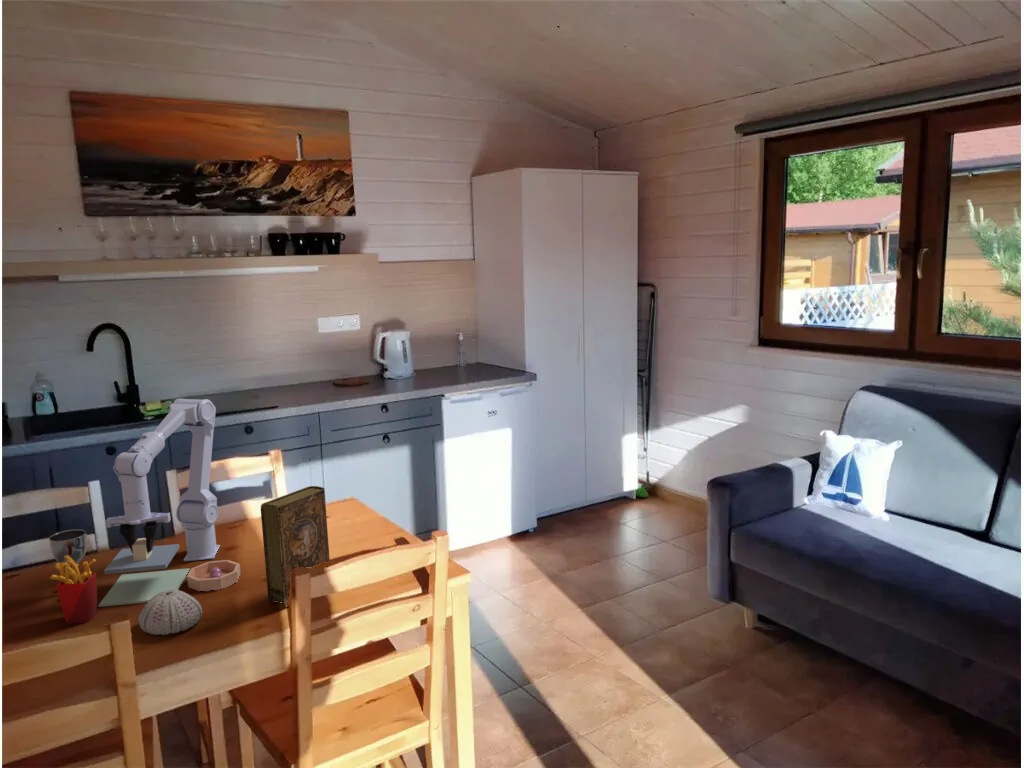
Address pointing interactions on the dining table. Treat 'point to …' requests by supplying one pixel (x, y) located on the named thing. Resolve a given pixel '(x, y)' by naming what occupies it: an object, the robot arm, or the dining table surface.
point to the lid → (142, 558)
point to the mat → (143, 586)
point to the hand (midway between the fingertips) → (142, 551)
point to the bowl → (213, 575)
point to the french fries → (77, 591)
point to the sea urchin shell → (170, 613)
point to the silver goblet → (68, 545)
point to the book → (293, 537)
